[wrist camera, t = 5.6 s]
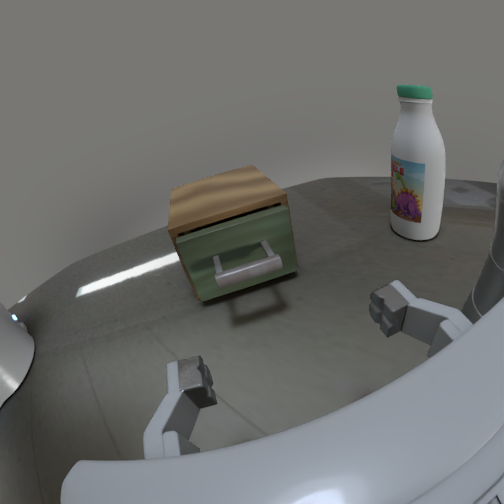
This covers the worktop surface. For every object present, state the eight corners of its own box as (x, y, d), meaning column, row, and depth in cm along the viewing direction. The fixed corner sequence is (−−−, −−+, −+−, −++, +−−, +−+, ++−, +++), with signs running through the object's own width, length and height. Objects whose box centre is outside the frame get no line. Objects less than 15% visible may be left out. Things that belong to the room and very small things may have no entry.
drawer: (314, 294, 27) (307, 227, 23) (205, 330, 26) (176, 268, 22) (264, 222, 42) (254, 175, 38) (193, 245, 41) (176, 198, 37)
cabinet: (297, 267, 33) (286, 193, 27) (197, 300, 31) (167, 229, 26) (264, 219, 45) (252, 164, 40) (190, 242, 44) (171, 189, 38)
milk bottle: (424, 212, 36) (423, 85, 26) (447, 238, 30) (454, 89, 19) (383, 217, 38) (375, 83, 27) (402, 245, 31) (400, 84, 21)
